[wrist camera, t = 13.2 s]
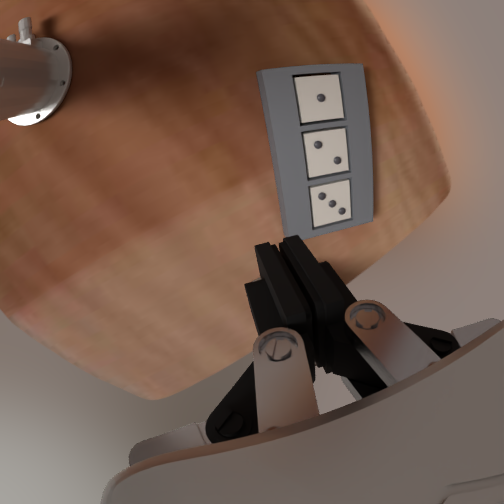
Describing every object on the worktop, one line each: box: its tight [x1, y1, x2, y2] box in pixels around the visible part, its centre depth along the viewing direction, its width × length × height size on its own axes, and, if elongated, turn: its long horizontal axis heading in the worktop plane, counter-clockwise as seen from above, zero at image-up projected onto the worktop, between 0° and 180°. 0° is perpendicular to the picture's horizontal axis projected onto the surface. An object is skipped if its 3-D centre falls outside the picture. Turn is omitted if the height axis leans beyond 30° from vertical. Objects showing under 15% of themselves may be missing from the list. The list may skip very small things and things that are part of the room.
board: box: [256, 64, 373, 240], centre depth 37 cm, size 24×14×3 cm, turn 10°
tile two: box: [301, 127, 349, 178], centre depth 37 cm, size 6×6×2 cm
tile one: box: [292, 75, 344, 123], centre depth 33 cm, size 6×6×2 cm
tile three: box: [308, 178, 351, 227], centre depth 41 cm, size 6×6×2 cm
